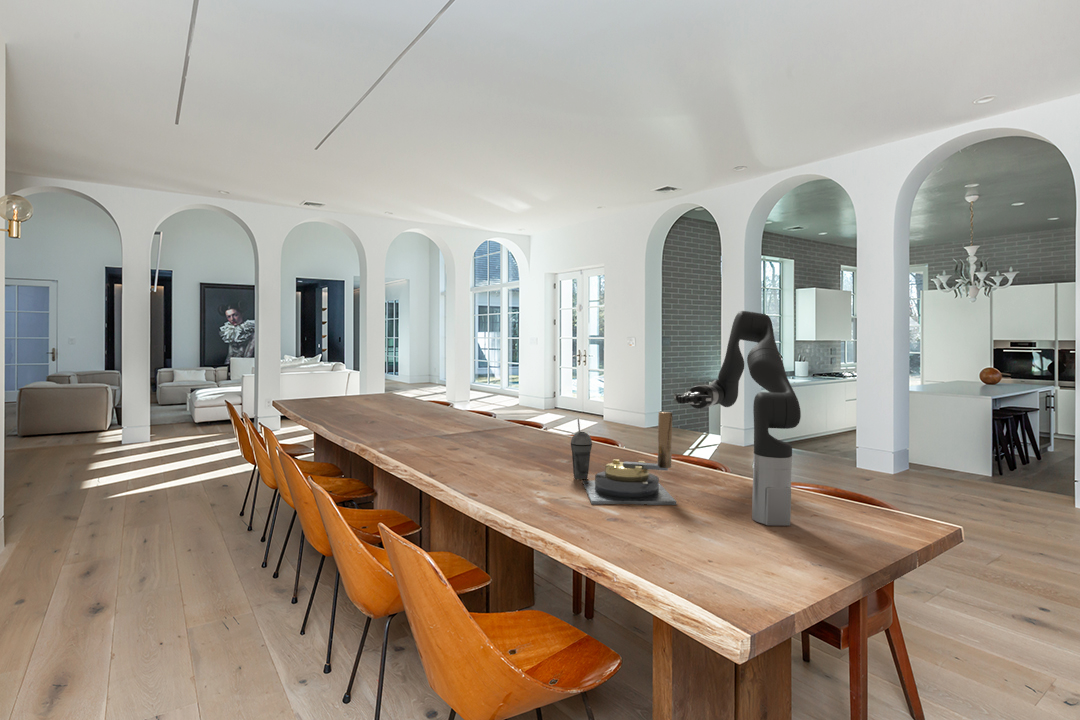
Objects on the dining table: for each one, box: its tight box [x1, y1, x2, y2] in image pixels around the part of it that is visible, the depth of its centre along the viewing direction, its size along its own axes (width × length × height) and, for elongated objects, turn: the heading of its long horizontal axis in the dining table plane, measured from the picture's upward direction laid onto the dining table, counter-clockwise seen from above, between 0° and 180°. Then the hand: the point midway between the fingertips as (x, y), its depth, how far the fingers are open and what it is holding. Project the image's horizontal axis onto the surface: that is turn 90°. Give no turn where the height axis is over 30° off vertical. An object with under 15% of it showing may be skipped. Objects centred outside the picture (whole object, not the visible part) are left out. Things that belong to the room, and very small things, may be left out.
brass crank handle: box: [604, 411, 673, 482], centre depth 176 cm, size 20×13×20 cm, turn 74°
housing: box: [582, 470, 677, 506], centre depth 178 cm, size 24×24×5 cm
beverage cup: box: [570, 418, 593, 481], centre depth 196 cm, size 7×7×20 cm
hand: (680, 400), depth 182 cm, fingers closed
